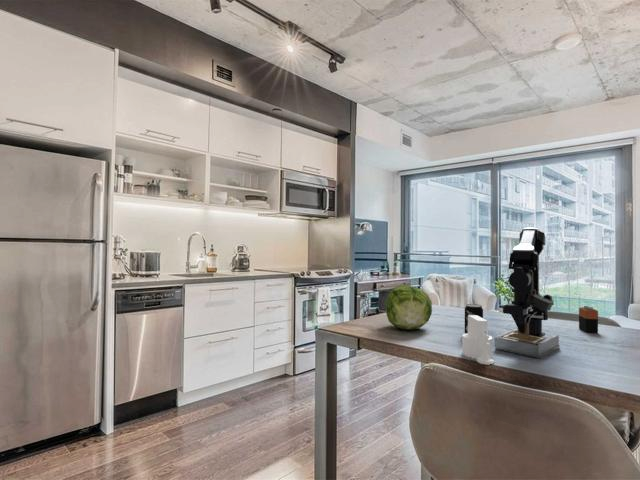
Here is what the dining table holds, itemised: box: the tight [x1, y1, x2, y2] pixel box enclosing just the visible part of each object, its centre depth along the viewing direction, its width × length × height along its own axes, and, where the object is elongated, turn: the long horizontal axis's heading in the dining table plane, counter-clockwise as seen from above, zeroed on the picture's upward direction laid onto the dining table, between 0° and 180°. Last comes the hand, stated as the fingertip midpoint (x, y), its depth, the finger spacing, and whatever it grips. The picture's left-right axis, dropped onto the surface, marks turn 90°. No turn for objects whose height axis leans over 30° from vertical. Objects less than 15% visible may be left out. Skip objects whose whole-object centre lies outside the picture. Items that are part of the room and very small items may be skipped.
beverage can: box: [464, 303, 484, 334], centre depth 145 cm, size 7×7×12 cm
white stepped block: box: [461, 315, 493, 359], centre depth 121 cm, size 9×9×12 cm
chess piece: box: [476, 328, 495, 366], centre depth 114 cm, size 5×5×10 cm
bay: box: [493, 327, 560, 359], centre depth 128 cm, size 19×14×4 cm
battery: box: [578, 305, 599, 334], centre depth 153 cm, size 4×7×10 cm, turn 168°
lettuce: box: [384, 284, 433, 331], centre depth 156 cm, size 19×23×18 cm
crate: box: [503, 322, 545, 344], centre depth 126 cm, size 8×10×8 cm
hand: (523, 332), depth 126 cm, fingers closed on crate, 2 cm apart
